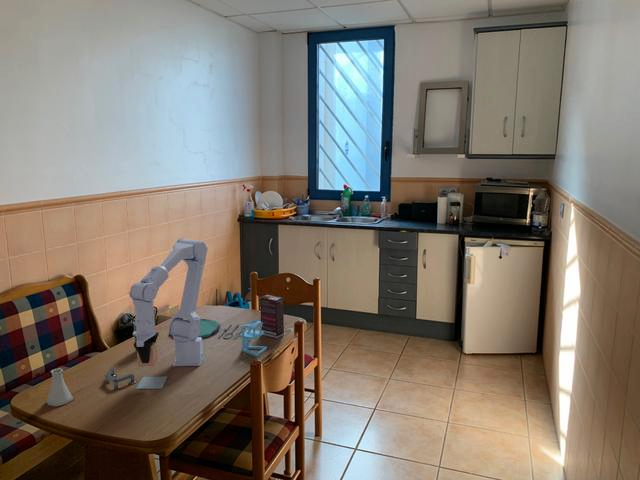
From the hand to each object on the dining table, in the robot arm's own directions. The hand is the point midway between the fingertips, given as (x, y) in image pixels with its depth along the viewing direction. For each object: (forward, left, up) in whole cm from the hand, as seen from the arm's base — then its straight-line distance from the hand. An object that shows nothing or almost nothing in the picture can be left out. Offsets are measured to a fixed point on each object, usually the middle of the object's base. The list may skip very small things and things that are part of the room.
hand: (147, 359), depth 165 cm
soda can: (+9, -26, -9) cm, 29 cm away
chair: (-32, -24, -9) cm, 41 cm away
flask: (+24, +10, -9) cm, 28 cm away
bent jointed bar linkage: (+10, -1, -8) cm, 13 cm away
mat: (-1, 0, -8) cm, 8 cm away
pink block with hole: (0, 0, -1) cm, 1 cm away
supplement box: (-39, -40, -9) cm, 56 cm away
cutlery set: (-12, -45, -9) cm, 47 cm away
